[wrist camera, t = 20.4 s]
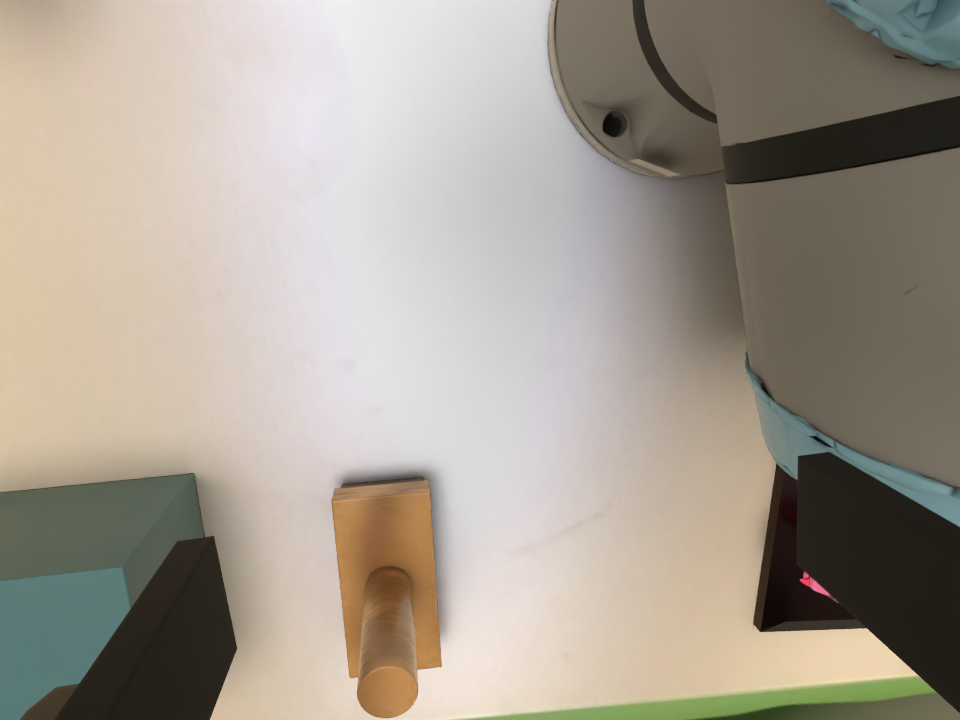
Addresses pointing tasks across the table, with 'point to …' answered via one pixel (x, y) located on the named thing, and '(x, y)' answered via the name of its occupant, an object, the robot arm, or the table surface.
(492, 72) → the table surface
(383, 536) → the stamp
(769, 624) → the lizard figurine
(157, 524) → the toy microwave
